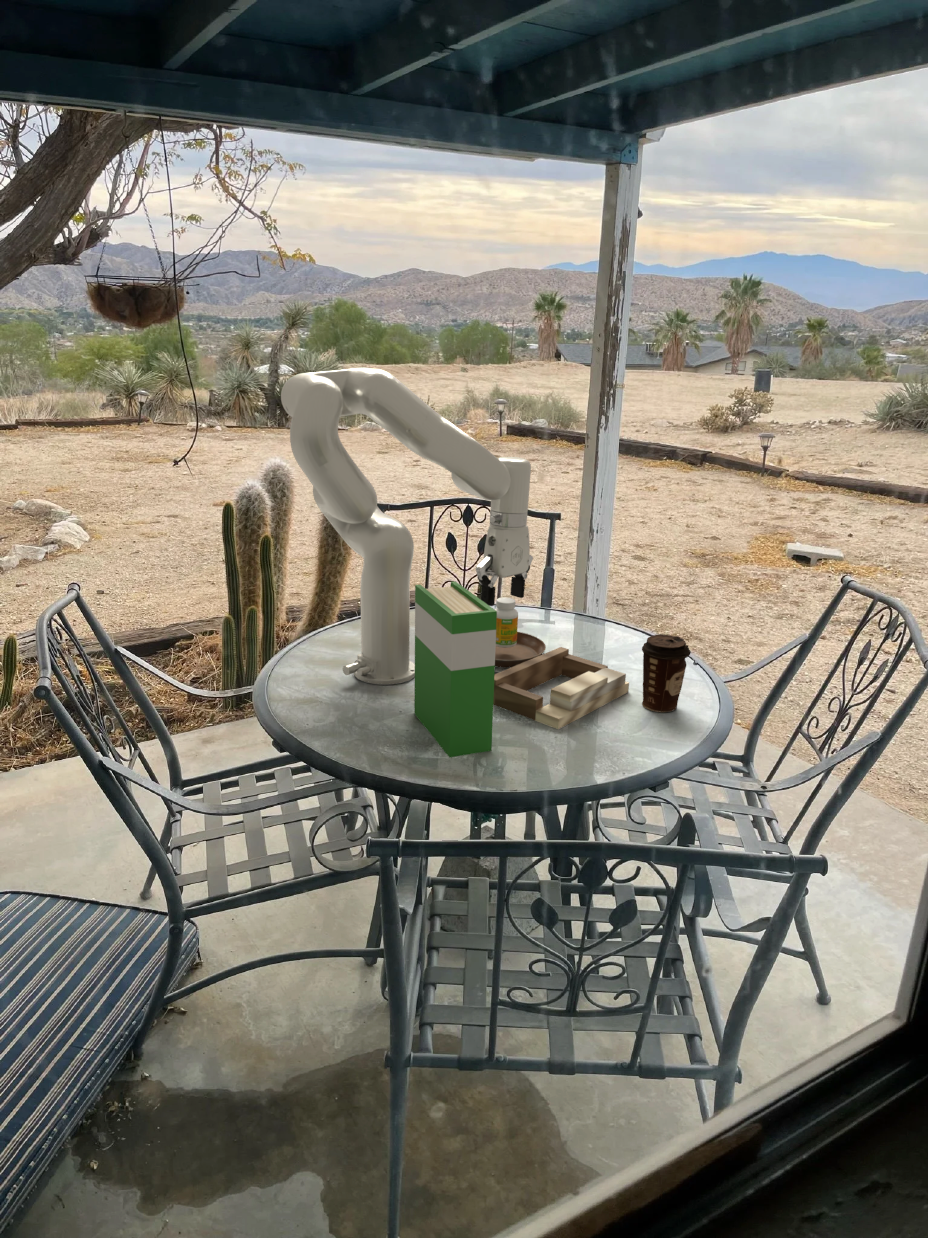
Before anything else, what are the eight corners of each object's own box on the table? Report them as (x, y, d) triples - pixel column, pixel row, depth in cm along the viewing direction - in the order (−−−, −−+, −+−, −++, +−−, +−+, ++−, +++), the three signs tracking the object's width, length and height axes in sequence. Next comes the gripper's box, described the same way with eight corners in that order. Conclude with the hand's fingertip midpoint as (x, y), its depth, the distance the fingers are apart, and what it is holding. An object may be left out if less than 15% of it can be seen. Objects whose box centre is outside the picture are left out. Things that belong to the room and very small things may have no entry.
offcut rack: (558, 729, 147) (560, 702, 145) (486, 702, 157) (487, 676, 156) (628, 692, 163) (630, 667, 162) (559, 669, 174) (560, 645, 172)
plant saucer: (548, 673, 173) (548, 659, 172) (461, 671, 173) (461, 657, 172) (542, 644, 190) (542, 631, 189) (462, 641, 190) (463, 628, 189)
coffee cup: (686, 701, 160) (693, 636, 156) (682, 718, 153) (690, 651, 148) (639, 694, 163) (646, 630, 159) (633, 711, 155) (639, 644, 151)
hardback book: (414, 713, 152) (415, 584, 144) (452, 708, 155) (455, 581, 147) (449, 757, 136) (452, 615, 129) (491, 750, 139) (496, 611, 132)
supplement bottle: (499, 649, 177) (501, 605, 174) (486, 641, 181) (488, 598, 178) (521, 645, 179) (523, 602, 176) (508, 637, 184) (510, 594, 180)
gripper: (495, 527, 163) (489, 612, 168) (548, 518, 176) (541, 597, 181) (466, 520, 168) (461, 603, 173) (520, 512, 180) (514, 589, 185)
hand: (502, 600), depth 177 cm, fingers open, 9 cm apart
